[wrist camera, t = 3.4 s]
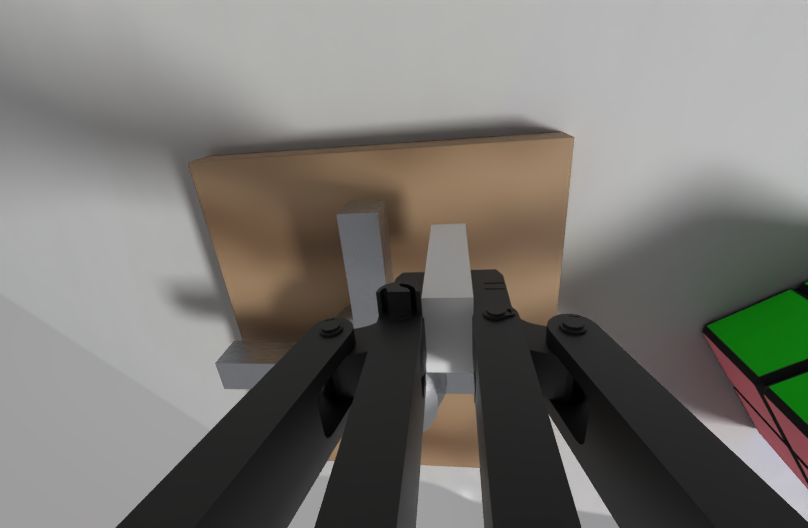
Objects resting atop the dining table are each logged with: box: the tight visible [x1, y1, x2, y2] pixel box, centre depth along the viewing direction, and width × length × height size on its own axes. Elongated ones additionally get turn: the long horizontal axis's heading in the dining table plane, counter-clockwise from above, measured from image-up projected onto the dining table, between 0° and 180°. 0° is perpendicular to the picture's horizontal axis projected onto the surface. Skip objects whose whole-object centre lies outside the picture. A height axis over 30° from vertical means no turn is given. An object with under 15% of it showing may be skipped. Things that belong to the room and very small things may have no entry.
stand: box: [188, 132, 574, 468], centre depth 24 cm, size 22×19×3 cm
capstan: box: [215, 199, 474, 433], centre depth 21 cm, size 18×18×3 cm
